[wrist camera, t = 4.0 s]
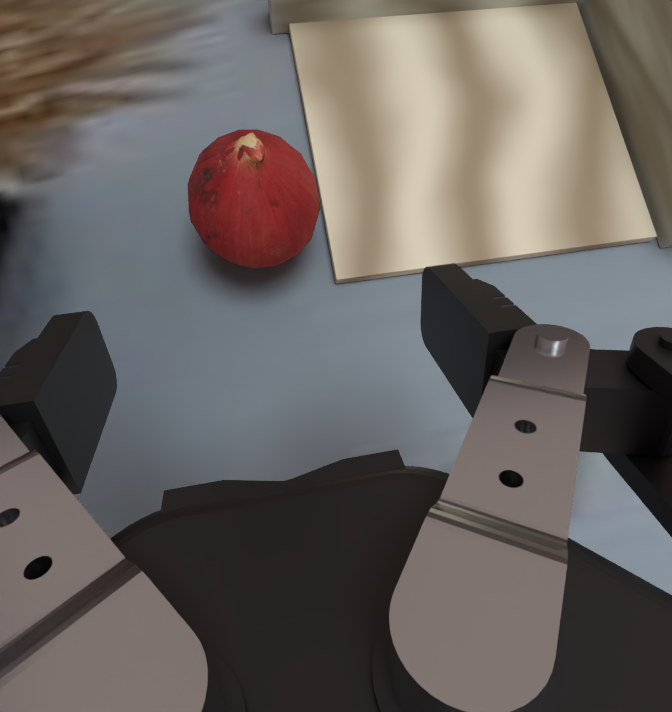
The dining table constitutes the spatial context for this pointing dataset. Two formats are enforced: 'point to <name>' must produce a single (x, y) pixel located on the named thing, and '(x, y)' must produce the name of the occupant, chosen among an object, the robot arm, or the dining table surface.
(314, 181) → the pomegranate
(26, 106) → the dining table surface
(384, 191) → the tray
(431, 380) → the dining table surface
